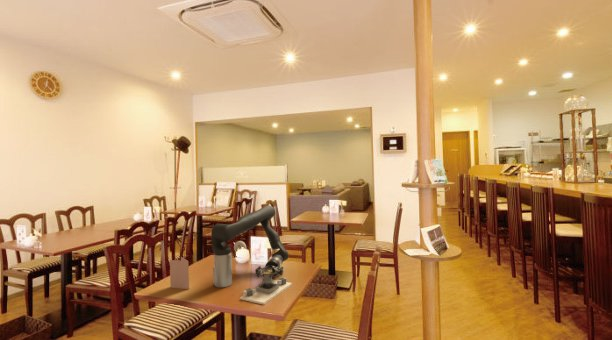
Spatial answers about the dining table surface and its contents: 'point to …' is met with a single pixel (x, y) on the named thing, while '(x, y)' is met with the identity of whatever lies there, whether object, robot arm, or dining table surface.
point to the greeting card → (179, 273)
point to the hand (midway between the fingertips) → (266, 275)
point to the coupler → (267, 278)
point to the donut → (239, 245)
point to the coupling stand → (265, 292)
